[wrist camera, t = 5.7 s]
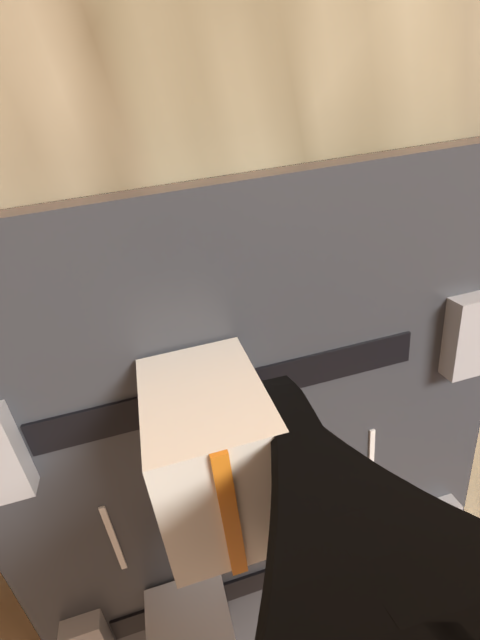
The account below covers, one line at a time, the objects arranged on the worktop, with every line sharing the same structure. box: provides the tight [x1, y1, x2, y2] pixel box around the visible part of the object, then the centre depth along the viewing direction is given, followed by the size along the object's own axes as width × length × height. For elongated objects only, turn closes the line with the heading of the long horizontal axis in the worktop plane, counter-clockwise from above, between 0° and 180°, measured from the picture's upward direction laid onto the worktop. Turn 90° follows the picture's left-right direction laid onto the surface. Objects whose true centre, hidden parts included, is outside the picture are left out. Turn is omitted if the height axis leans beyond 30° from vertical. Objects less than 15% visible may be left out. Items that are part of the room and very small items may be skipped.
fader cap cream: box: [136, 337, 289, 589], centre depth 9 cm, size 2×3×4 cm
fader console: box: [0, 136, 480, 640], centre depth 13 cm, size 15×18×2 cm
